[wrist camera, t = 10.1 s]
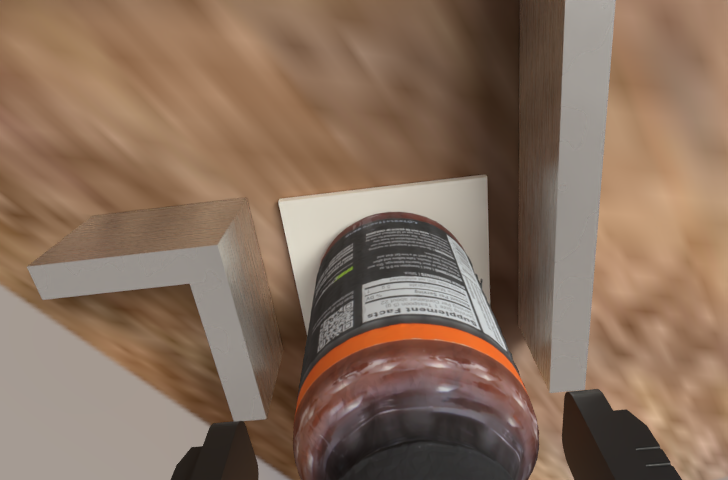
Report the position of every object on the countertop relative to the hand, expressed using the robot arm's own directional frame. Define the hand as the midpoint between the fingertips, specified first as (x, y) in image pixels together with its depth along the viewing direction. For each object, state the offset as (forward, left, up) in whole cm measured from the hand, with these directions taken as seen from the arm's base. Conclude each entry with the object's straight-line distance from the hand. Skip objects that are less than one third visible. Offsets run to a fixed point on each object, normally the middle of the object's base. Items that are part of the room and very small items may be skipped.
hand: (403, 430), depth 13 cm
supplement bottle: (0, 0, -8) cm, 8 cm away
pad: (0, 0, -8) cm, 8 cm away
